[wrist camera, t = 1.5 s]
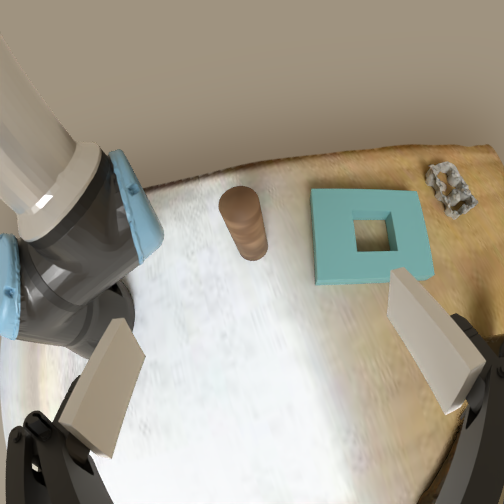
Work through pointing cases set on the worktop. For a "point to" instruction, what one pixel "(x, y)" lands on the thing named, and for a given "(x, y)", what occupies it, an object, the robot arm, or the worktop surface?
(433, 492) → the dark brown wooden rod
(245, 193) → the walnut pin
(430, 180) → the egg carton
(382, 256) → the teal square-hole block
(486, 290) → the worktop surface
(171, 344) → the worktop surface
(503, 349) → the supplement bottle
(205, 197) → the worktop surface
